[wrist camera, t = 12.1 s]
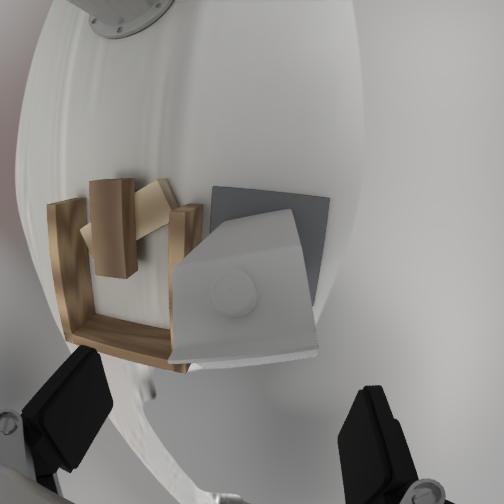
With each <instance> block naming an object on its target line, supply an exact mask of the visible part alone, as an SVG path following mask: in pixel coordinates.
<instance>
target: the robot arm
mask: <svg viewBox="0 0 504 504" xmlns="http://www.w3.org/2000/svg"><path fill="white" fill-rule="evenodd" d="M67 1H69V2H71V3H72V4H74V5H75V6H77V7H79V8H80V9H82V10H83V11H85V12H87V13H88V14H89V22H90V26H91V28H92V29H93V31H94V32H96V33H97V34H98V35H100V36H102V37H105V38H121V37H126V36H129V35H132V34H134V33H136V32H138V31H140V30H142V29H144V28H145V27H147V26H149V25H150V24H151V23H153V22H154V21H155V20H157V19H158V18H159V17H160V16H161V15H162V14H163V13H164V12H165V11H166V10H167V9H168V7H169V6H170V5H171V3H172V1H173V0H67ZM112 408H113V399H112V396H111V393H110V389H109V386H108V383H107V379H106V376H105V372H104V368H103V364H102V360H101V356H100V354H99V353H97V350H96V349H95V348H92V347H89V346H86V345H80V346H79V347H78V348H77V349H76V350H75V351H74V352H73V353H72V354H71V355H70V356H69V358H68V359H67V360H66V361H65V362H64V363H63V364H62V365H61V366H60V367H59V368H58V370H57V371H56V372H55V373H54V374H53V375H52V376H51V377H50V378H49V380H48V381H47V382H46V383H45V384H44V385H43V386H42V387H41V389H40V390H39V391H38V392H37V393H36V394H35V395H34V397H33V398H32V399H31V400H30V401H29V403H28V404H27V405H26V406H25V407H24V408H23V410H22V414H21V415H20V414H19V413H18V412H16V411H15V410H12V409H3V410H0V504H75V503H73V502H71V501H69V500H67V499H65V498H63V494H62V491H61V487H60V484H59V480H58V476H57V470H58V468H59V467H60V468H61V469H63V470H65V471H67V472H69V473H71V472H72V470H73V469H76V468H77V467H78V466H79V464H80V463H81V461H82V459H83V457H84V456H85V454H86V452H87V450H88V449H89V447H90V445H91V443H92V442H93V440H94V438H95V437H96V435H97V433H98V432H99V430H100V428H101V427H102V425H103V423H104V421H105V420H106V418H107V417H108V415H109V413H110V412H111V410H112ZM338 449H339V455H340V463H341V470H342V477H343V485H344V493H345V502H346V504H454V503H452V502H450V501H448V500H446V499H445V497H446V496H445V491H444V488H443V487H442V485H441V484H440V483H439V482H437V481H435V480H432V479H421V480H419V479H418V476H417V472H416V469H415V466H414V463H413V460H412V457H411V454H410V451H409V448H408V445H407V442H406V439H405V436H404V433H403V431H402V428H401V425H400V423H399V421H398V420H397V419H394V418H393V415H392V412H391V409H390V407H389V404H388V401H387V398H386V396H385V393H384V391H383V388H382V386H380V385H375V386H365V387H364V388H363V390H359V391H358V393H357V395H356V398H355V400H354V402H353V405H352V407H351V409H350V411H349V414H348V416H347V418H346V420H345V422H344V424H343V426H342V429H341V431H340V433H339V435H338Z"/></svg>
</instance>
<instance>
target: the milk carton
mask: <svg viewBox="0 0 504 504" xmlns="http://www.w3.org/2000/svg"><path fill="white" fill-rule="evenodd" d="M173 345H174V350H173V352H172V353H171V355H170V357H169V359H168V360H167V361H168V363H169V364H183V363H196V364H198V365H200V366H202V367H204V368H206V369H213V368H227V367H239V366H249V365H259V364H267V363H275V362H283V361H290V360H296V359H304V358H310V357H315V356H318V354H317V349H318V341H317V335H316V329H315V322H314V316H313V310H312V303H311V297H310V291H309V285H308V279H307V274H306V268H305V263H304V257H303V252H302V247H301V243H300V239H299V235H298V232H297V228H296V224H295V220H294V217H293V213H292V210H291V209H284V210H278V211H273V212H268V213H263V214H257V215H252V216H247V217H242V218H237V219H232V220H227V221H224V222H223V223H222V224H220V225H219V226H218V227H217V228H216V229H215V230H214V231H213V232H212V233H211V234H209V235H208V236H207V237H206V238H205V239H204V240H203V241H202V242H201V243H200V244H199V245H198V246H197V247H195V248H194V249H193V250H192V251H191V252H190V253H189V254H188V255H187V256H186V257H185V258H184V259H183V260H182V261H181V262H180V263H179V264H178V265H177V266H176V267H175V268H174V269H173Z"/></svg>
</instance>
